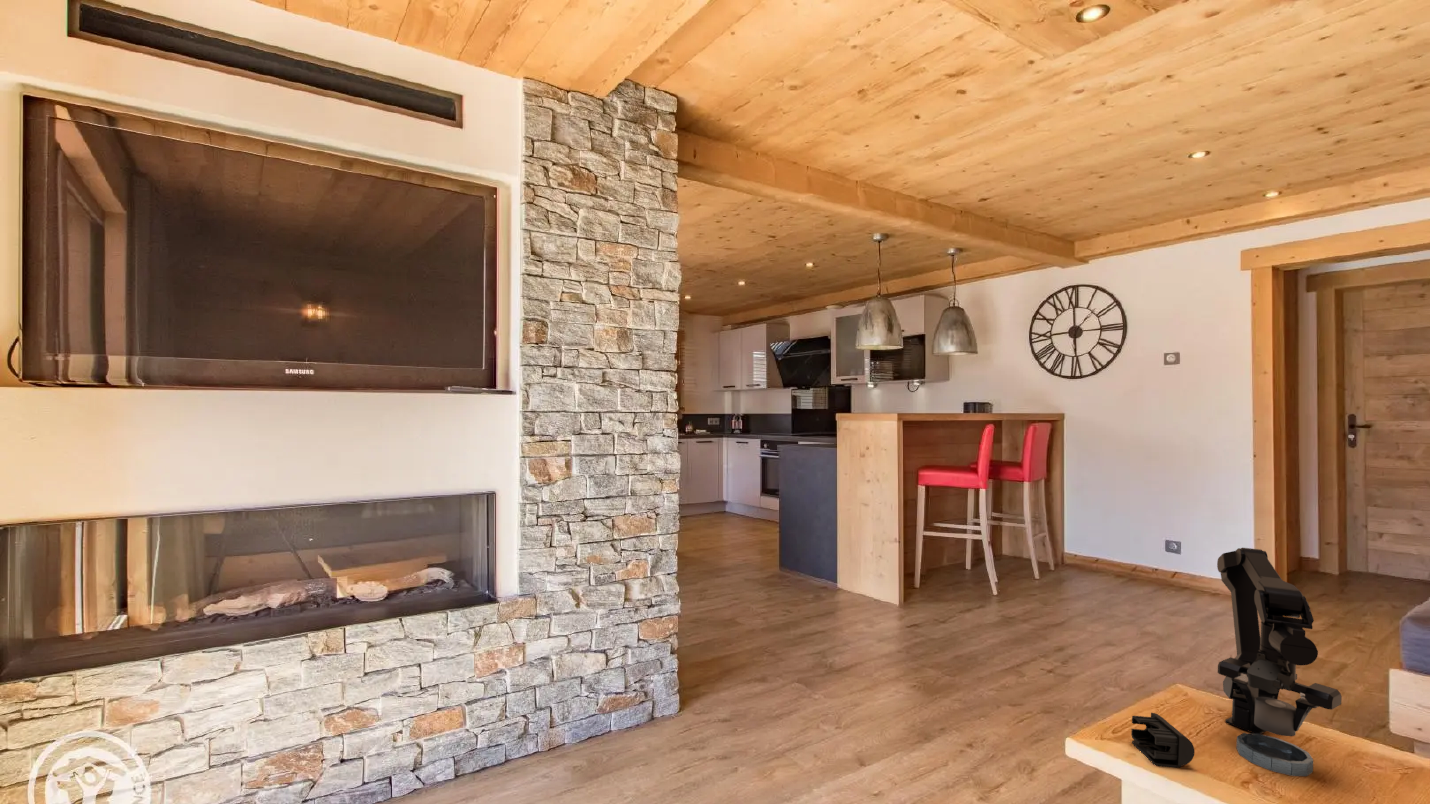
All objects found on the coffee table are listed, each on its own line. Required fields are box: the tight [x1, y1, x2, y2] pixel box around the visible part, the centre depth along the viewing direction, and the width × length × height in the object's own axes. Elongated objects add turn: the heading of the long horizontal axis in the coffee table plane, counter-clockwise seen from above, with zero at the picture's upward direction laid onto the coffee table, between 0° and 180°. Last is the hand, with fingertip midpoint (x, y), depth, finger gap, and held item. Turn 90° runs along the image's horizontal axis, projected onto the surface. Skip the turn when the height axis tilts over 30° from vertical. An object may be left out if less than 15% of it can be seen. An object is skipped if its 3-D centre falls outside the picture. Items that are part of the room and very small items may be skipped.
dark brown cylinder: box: [1254, 697, 1297, 737], centre depth 134 cm, size 6×6×5 cm
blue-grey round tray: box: [1236, 732, 1314, 777], centre depth 134 cm, size 12×12×2 cm
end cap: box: [1130, 712, 1195, 769], centre depth 134 cm, size 10×7×7 cm
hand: (1274, 722), depth 134 cm, fingers closed on dark brown cylinder, 6 cm apart
